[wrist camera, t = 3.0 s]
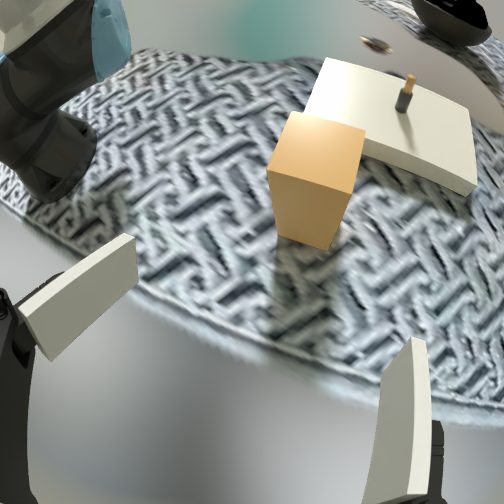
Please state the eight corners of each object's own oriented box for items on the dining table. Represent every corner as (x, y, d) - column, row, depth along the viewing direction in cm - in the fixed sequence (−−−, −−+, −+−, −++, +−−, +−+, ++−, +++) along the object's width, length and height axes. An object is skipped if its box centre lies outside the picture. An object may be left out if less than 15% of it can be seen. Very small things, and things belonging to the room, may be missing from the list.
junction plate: (300, 136, 30) (300, 83, 22) (325, 72, 33) (327, 27, 25) (465, 197, 25) (501, 162, 17) (460, 121, 28) (482, 84, 20)
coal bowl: (430, 16, 38) (440, -35, 20) (489, 59, 32) (511, 8, 14) (387, 18, 37) (396, -46, 19) (459, 68, 31) (485, -1, 13)
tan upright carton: (277, 234, 27) (266, 169, 16) (293, 190, 28) (291, 110, 17) (327, 251, 26) (351, 194, 15) (341, 205, 27) (365, 130, 16)
